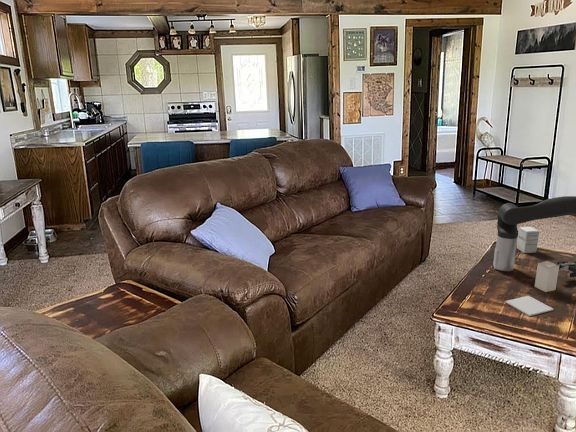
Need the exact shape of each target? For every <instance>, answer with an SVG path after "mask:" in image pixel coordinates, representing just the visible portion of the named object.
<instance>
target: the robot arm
mask: <svg viewBox="0 0 576 432" xmlns="http://www.w3.org/2000/svg"><path fill="white" fill-rule="evenodd" d="M570 215H576V196H575V195H569V196H566V195H565V196H558V197H556V196H555V197H551V198H547V199H544V200H542V201H541V202H538V203H536V204H533V205H527V206H517V205H515V204H514V203H511V202H507V203H504V204H502V205H501V206H500V207H499V209H498V213H497V224H496V230H497V233H496V234H497V236H496V243H495V247H494V253H493V254H494V255H493V264H492V266H493V267H494V270H498V271H501V272H512V271H514V269H515V260H516V253H517V243H518V236H519V230H518V225H520V224H521V225H522V224H523V223H528V222H531V221H538V220H544V219H545V220H546V219H552V218H559V217H564V216H570ZM556 264H557V265H559V271H560V270H564V271H567V272H570V273H569V278H576V261H574V262H571V263H569V261H568V260H562V261H557V262H556Z"/></svg>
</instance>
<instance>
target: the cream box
mask: <svg viewBox="0 0 576 432" xmlns="http://www.w3.org/2000/svg"><path fill="white" fill-rule="evenodd" d="M559 271H560V270H559V265H557V263H554V262H552V261H549V260H544V261H540V262H538V263H537V268H536V273H535V281H534V288H536V289H538V290H539V291H543V292H545V293H547V292H551V291H556V288H557V284H558V283H557V282H558V277H559Z"/></svg>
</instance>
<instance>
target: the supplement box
mask: <svg viewBox="0 0 576 432" xmlns="http://www.w3.org/2000/svg"><path fill="white" fill-rule="evenodd" d="M539 236H540V230H538V229H536V228H534V227H532V226H521V227H519V230H518V239H517V247H516V250H517V249H518V250H519V251H521V252H522V253H524V254H530V253H531V254H532V253H537V249H538V243H539V238H540V237H539Z"/></svg>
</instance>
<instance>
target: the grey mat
mask: <svg viewBox="0 0 576 432" xmlns="http://www.w3.org/2000/svg"><path fill="white" fill-rule="evenodd" d="M504 303H506V304H507V305H510V306H511V307H513V308H515V309H516V310H517V311H519V312H521V313H523V314H524V315H526V316H528V317H531V316H536V315H539V314H543V313H548V312H553V311H554V308H553V307H551V306H549V305H547V304H545V303H543V302H542V301H539V300H537V299H535V298H534V297H532V296H530V295H525V296H521V297H517V298H516V297H515V298H513V299H508V300H505V301H504Z"/></svg>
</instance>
